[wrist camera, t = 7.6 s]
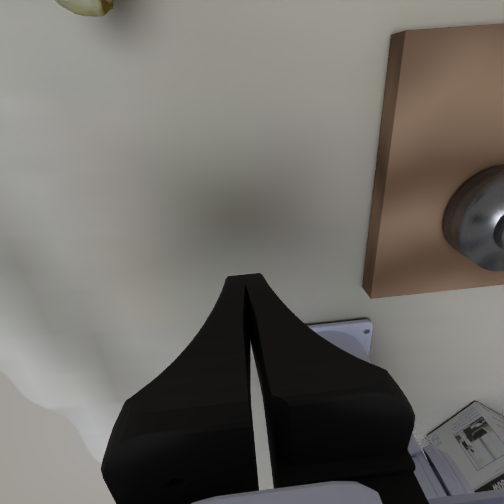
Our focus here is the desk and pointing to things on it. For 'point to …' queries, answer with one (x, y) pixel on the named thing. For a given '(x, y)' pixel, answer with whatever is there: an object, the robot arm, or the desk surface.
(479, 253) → the grey lever handle
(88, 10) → the mug
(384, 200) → the base
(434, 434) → the light bulb box
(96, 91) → the desk surface
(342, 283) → the desk surface
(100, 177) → the desk surface
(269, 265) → the desk surface
